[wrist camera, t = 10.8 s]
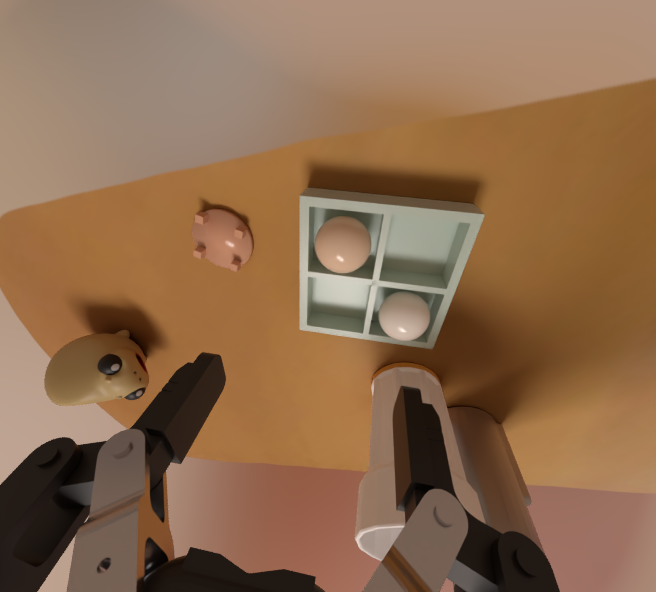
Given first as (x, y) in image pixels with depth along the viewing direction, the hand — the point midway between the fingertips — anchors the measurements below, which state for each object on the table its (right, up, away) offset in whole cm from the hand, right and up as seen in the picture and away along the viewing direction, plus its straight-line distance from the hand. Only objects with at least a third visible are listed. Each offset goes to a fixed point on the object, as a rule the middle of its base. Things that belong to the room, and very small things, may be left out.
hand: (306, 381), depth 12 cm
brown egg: (+3, +10, +14) cm, 17 cm away
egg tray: (+6, +7, +16) cm, 18 cm away
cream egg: (+9, +3, +17) cm, 20 cm away
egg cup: (-10, +10, +17) cm, 22 cm away
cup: (+12, -8, +26) cm, 29 cm away
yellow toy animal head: (-29, -3, +30) cm, 41 cm away
